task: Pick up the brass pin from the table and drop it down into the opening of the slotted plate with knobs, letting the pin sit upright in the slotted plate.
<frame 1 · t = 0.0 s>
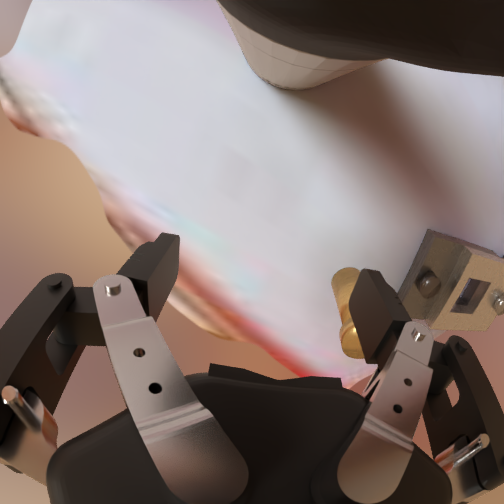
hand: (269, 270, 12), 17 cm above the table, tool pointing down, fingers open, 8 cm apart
brass pin: (347, 281, 32), on the table
slotted plate with knobs: (458, 280, 32), on the table
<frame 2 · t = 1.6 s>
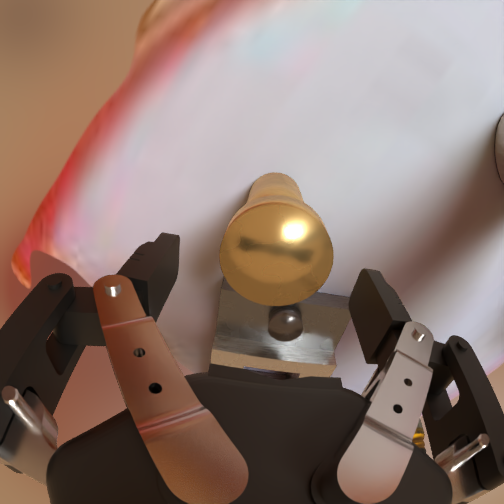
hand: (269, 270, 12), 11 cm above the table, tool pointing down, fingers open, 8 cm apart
brass pin: (275, 197, 21), on the table
slotted plate with knobs: (267, 357, 30), on the table
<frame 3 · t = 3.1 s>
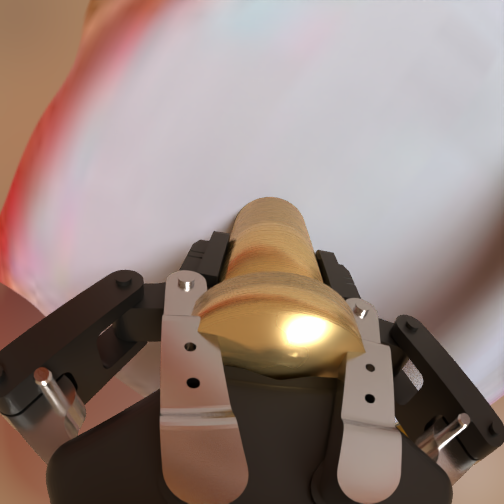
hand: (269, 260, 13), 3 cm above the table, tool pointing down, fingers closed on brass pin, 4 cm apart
brass pin: (269, 231, 15), on the table, touching gripper
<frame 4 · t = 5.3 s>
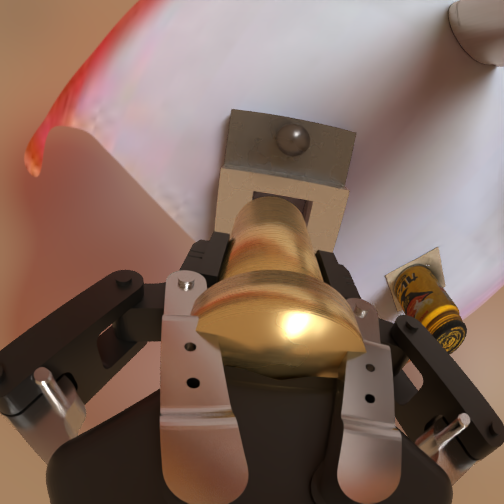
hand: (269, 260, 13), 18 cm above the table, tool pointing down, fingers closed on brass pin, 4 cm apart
condiment: (416, 279, 33), on the table
brass pin: (269, 230, 15), point 14 cm above the table, touching gripper
slotted plate with knobs: (277, 209, 30), on the table
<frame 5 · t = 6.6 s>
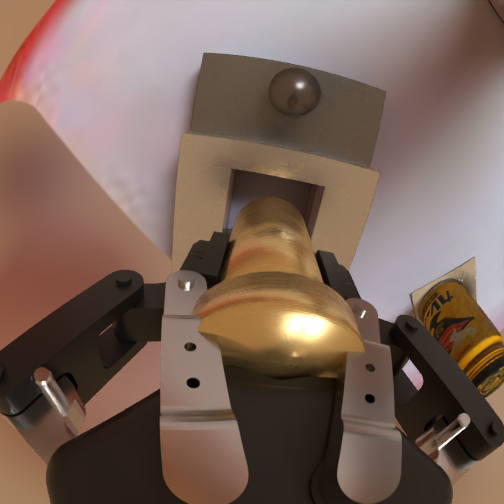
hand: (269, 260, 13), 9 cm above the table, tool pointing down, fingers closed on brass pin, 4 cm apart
condiment: (446, 297, 24), on the table
brass pin: (269, 231, 15), point 6 cm above the table, touching gripper
slotted plate with knobs: (269, 201, 21), on the table
when the fingers open (5 cm above the table, at t = 7.7 s): brass pin drops 2 cm, resting in slotted plate with knobs.
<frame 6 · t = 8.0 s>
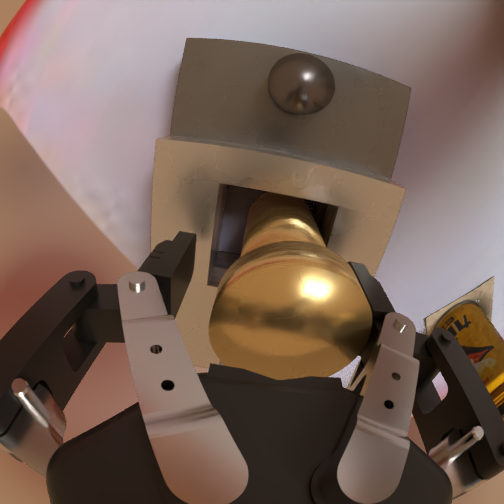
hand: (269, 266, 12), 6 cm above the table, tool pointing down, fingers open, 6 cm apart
condiment: (461, 319, 21), on the table
brass pin: (279, 220, 17), resting in slotted plate with knobs
slotted plate with knobs: (268, 219, 17), on the table
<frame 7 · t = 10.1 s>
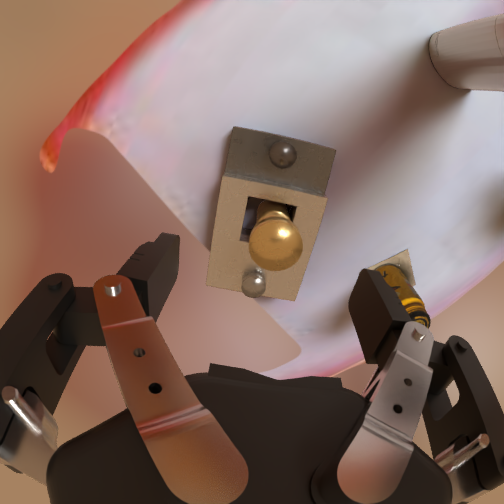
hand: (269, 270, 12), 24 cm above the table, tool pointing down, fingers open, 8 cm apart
condiment: (388, 277, 40), on the table
brass pin: (272, 213, 36), resting in slotted plate with knobs
slotted plate with knobs: (267, 212, 36), on the table
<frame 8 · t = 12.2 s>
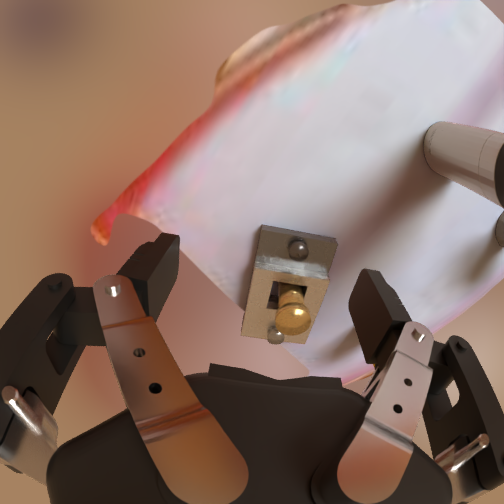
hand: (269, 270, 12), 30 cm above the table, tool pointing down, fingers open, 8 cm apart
brass pin: (289, 284, 48), resting in slotted plate with knobs
slotted plate with knobs: (285, 283, 48), on the table
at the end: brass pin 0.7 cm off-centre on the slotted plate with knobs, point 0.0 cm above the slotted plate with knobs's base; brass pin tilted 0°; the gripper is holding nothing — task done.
